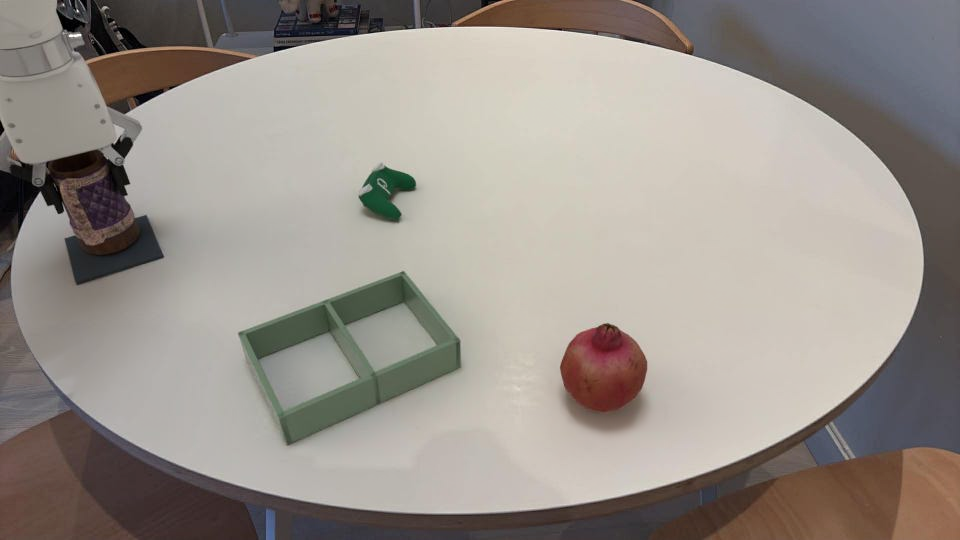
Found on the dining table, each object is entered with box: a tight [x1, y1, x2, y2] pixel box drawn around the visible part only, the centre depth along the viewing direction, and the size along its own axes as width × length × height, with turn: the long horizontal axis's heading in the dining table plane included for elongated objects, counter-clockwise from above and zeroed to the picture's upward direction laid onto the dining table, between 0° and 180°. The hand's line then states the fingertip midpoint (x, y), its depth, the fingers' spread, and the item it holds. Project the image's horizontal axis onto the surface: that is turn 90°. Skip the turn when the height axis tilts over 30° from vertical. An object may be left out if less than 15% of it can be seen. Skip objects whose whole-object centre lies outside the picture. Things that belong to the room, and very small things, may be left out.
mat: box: [64, 214, 165, 285], centre depth 88 cm, size 10×10×1 cm
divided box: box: [237, 270, 462, 446], centre depth 72 cm, size 19×13×4 cm
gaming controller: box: [358, 162, 417, 221], centre depth 95 cm, size 9×4×6 cm
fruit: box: [559, 322, 648, 414], centre depth 66 cm, size 8×8×10 cm
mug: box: [47, 149, 140, 255], centre depth 83 cm, size 10×7×12 cm
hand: (91, 198), depth 83 cm, fingers closed on mug, 6 cm apart
